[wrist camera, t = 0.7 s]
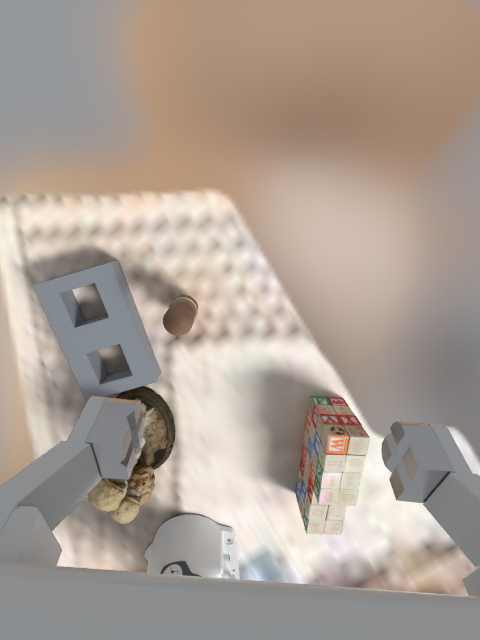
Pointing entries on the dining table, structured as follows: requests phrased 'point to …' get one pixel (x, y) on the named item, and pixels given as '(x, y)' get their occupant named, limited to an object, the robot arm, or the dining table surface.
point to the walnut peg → (180, 315)
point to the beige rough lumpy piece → (138, 460)
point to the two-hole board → (99, 331)
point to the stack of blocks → (330, 464)
